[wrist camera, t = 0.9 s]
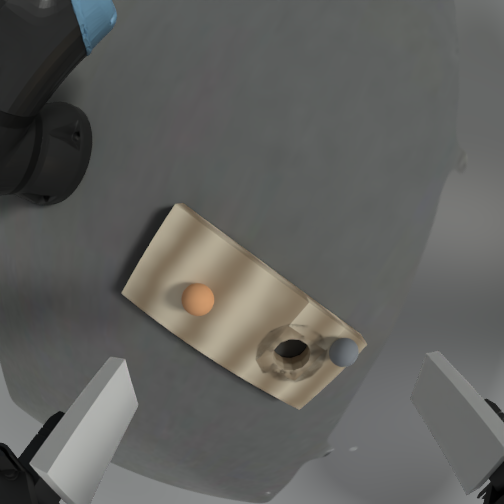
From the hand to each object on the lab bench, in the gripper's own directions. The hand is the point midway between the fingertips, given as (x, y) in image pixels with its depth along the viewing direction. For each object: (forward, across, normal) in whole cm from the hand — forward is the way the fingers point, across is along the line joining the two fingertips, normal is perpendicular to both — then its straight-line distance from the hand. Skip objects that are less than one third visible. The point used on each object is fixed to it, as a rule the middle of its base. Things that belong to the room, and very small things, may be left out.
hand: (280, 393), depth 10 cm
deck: (+23, -2, -7) cm, 24 cm away
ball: (+18, -7, -3) cm, 20 cm away
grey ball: (+18, +9, -10) cm, 22 cm away
